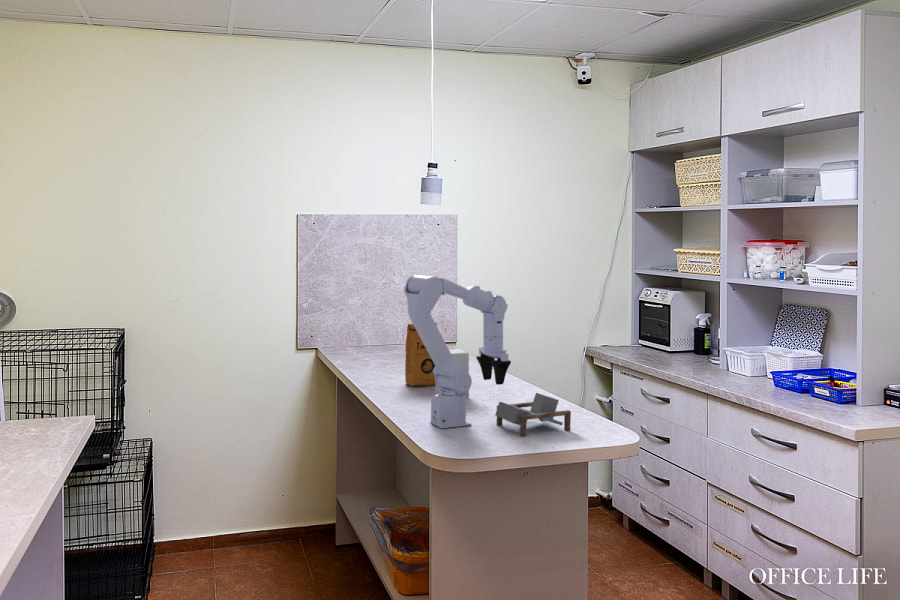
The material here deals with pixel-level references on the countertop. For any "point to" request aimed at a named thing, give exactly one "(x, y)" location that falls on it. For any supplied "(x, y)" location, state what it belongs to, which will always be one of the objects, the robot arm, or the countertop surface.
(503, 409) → the trapdoor
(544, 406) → the gray block
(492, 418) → the countertop surface
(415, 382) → the coffee package
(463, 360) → the supplement box
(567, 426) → the frame
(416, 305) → the robot arm
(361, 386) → the countertop surface
